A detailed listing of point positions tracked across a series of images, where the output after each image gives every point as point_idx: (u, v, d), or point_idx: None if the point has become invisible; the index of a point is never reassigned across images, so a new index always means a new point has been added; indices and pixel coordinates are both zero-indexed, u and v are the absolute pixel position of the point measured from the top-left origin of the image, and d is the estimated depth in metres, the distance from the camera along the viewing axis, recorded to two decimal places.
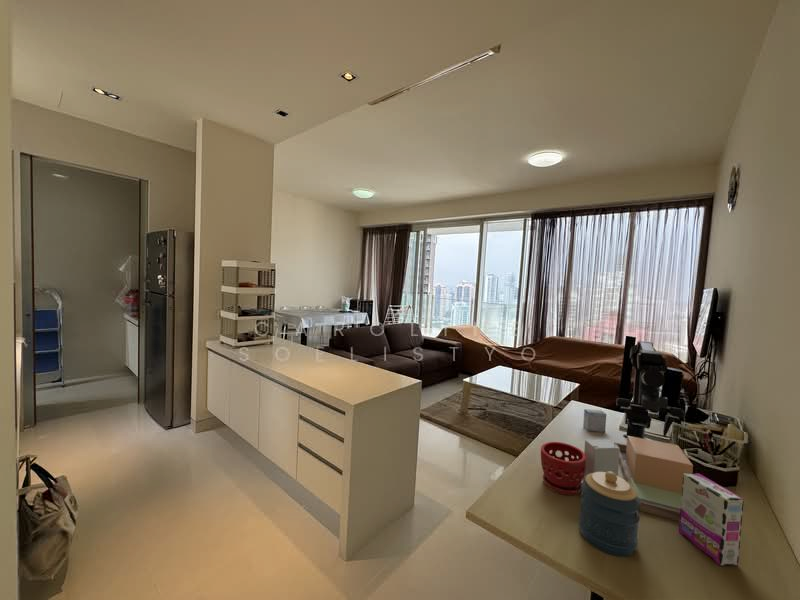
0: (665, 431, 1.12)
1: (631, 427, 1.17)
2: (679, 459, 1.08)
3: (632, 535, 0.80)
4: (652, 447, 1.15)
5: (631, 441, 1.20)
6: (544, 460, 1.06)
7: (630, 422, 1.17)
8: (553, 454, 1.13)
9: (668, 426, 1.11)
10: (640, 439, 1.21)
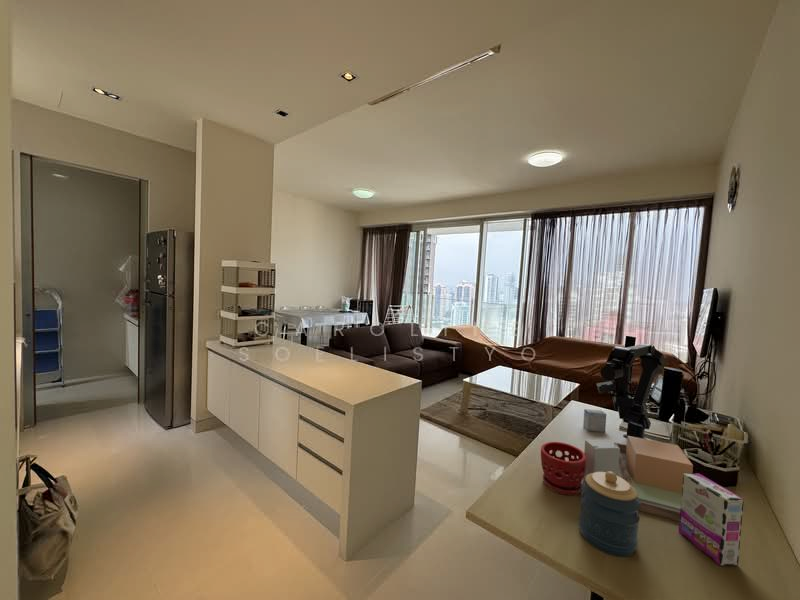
0: (619, 414, 1.33)
1: None
2: (679, 459, 1.08)
3: (632, 535, 0.80)
4: (652, 447, 1.15)
5: (631, 441, 1.20)
6: (544, 460, 1.06)
7: (614, 404, 1.42)
8: (553, 454, 1.13)
9: (618, 410, 1.32)
10: (640, 439, 1.21)
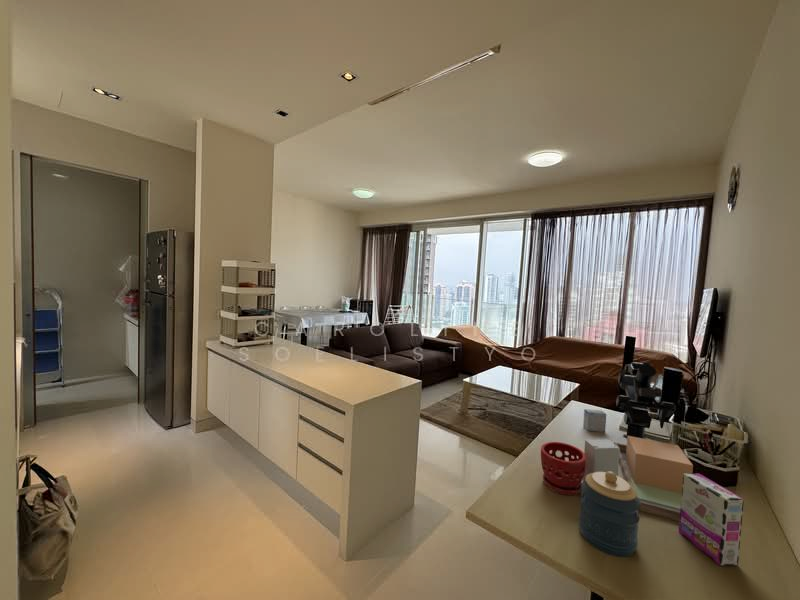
0: (662, 422, 1.26)
1: (632, 420, 1.30)
2: (679, 459, 1.08)
3: (632, 535, 0.80)
4: (652, 447, 1.15)
5: (631, 441, 1.20)
6: (544, 460, 1.06)
7: (631, 415, 1.31)
8: (553, 454, 1.13)
9: (664, 417, 1.27)
10: (640, 439, 1.21)
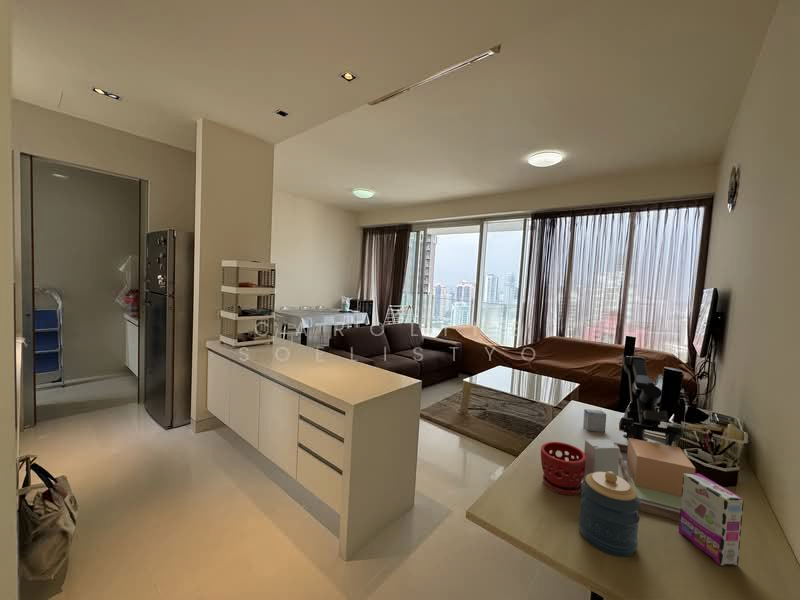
0: None
1: None
2: (682, 462, 1.06)
3: (632, 535, 0.80)
4: (653, 450, 1.13)
5: (632, 443, 1.18)
6: (544, 460, 1.06)
7: None
8: (553, 454, 1.13)
9: (670, 443, 1.19)
10: (641, 442, 1.19)
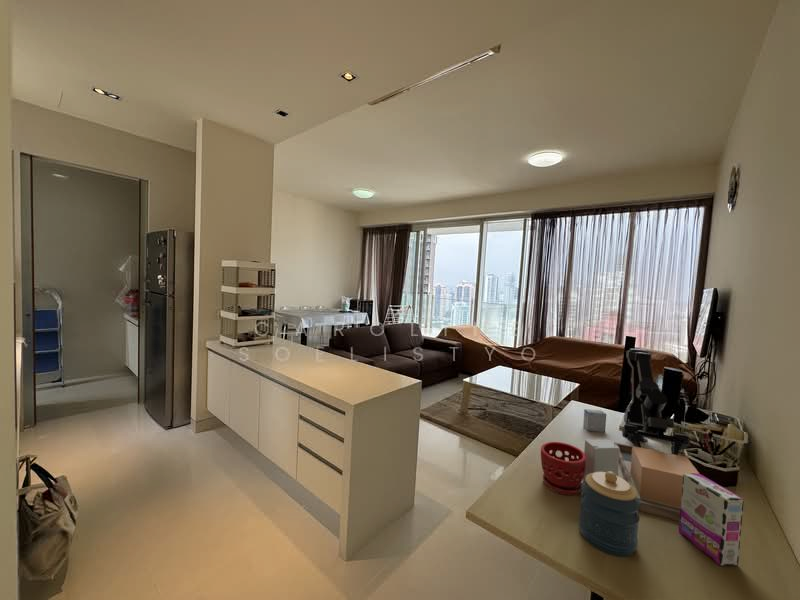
0: None
1: None
2: None
3: (632, 535, 0.80)
4: (659, 460, 1.07)
5: (636, 452, 1.11)
6: (544, 460, 1.06)
7: None
8: (553, 454, 1.13)
9: (676, 452, 1.12)
10: (646, 450, 1.13)
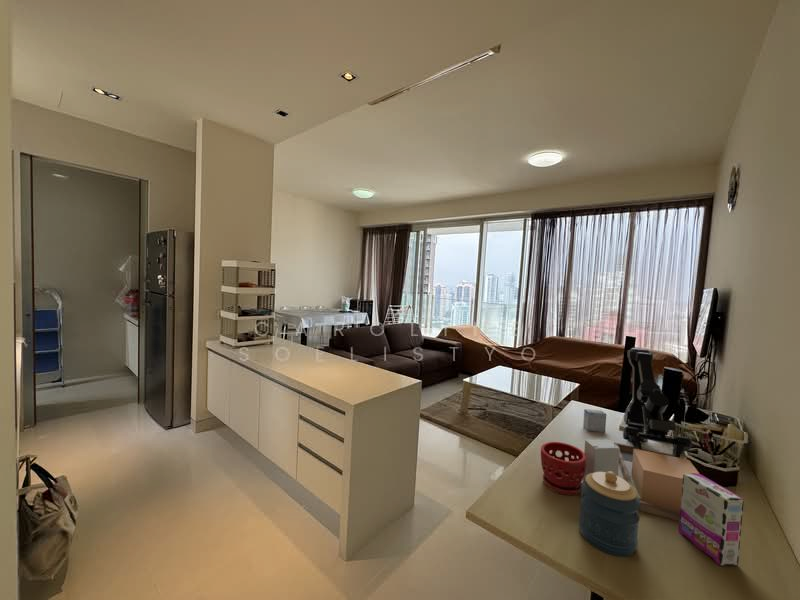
0: None
1: None
2: None
3: (632, 535, 0.80)
4: (661, 463, 1.05)
5: (638, 455, 1.10)
6: (544, 460, 1.06)
7: None
8: (553, 454, 1.13)
9: (678, 455, 1.11)
10: (648, 453, 1.11)
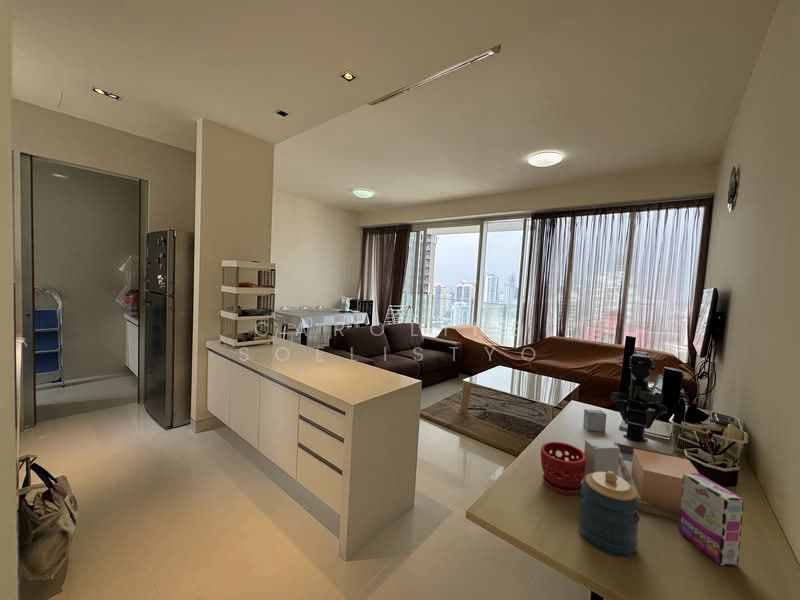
0: (650, 423, 1.28)
1: (625, 418, 1.29)
2: None
3: (632, 535, 0.80)
4: (661, 463, 1.05)
5: (638, 455, 1.10)
6: (544, 460, 1.06)
7: (625, 414, 1.30)
8: (553, 454, 1.13)
9: (653, 419, 1.29)
10: (648, 453, 1.11)
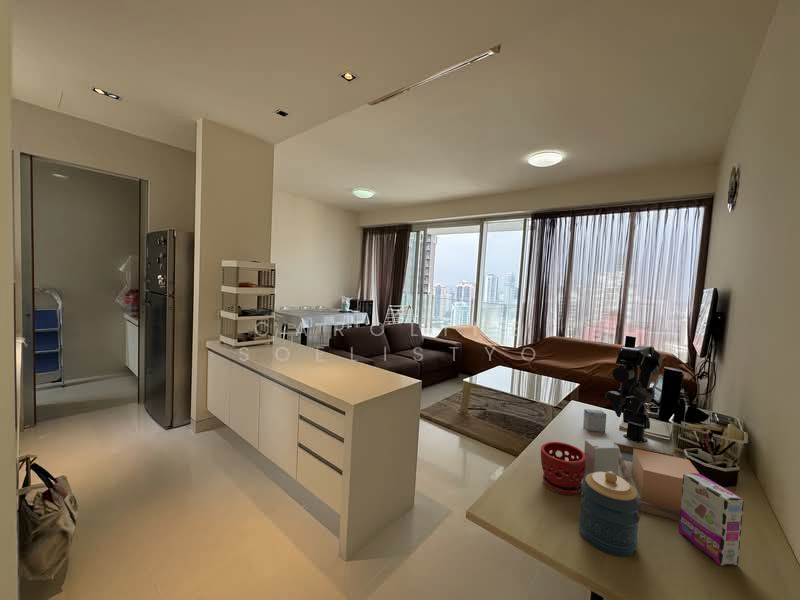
0: (637, 411, 1.37)
1: (620, 415, 1.34)
2: None
3: (632, 535, 0.80)
4: (661, 463, 1.05)
5: (638, 455, 1.10)
6: (544, 460, 1.06)
7: (620, 412, 1.33)
8: (553, 454, 1.13)
9: (639, 407, 1.37)
10: (648, 453, 1.11)
